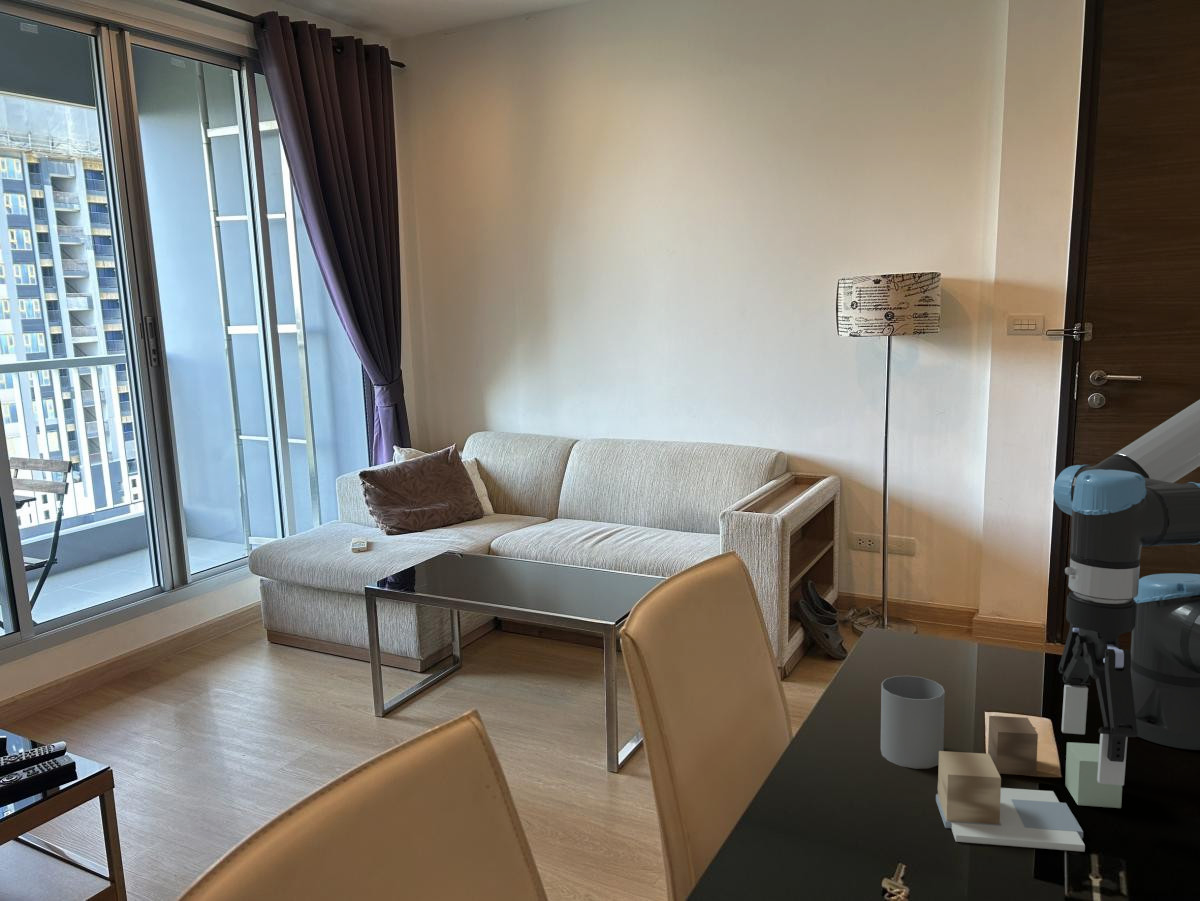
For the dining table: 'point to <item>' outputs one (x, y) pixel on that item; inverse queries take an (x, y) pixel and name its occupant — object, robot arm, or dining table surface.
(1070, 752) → the sage block
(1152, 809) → the dining table surface
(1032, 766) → the walnut block
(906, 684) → the cup
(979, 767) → the oak base
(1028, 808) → the board
